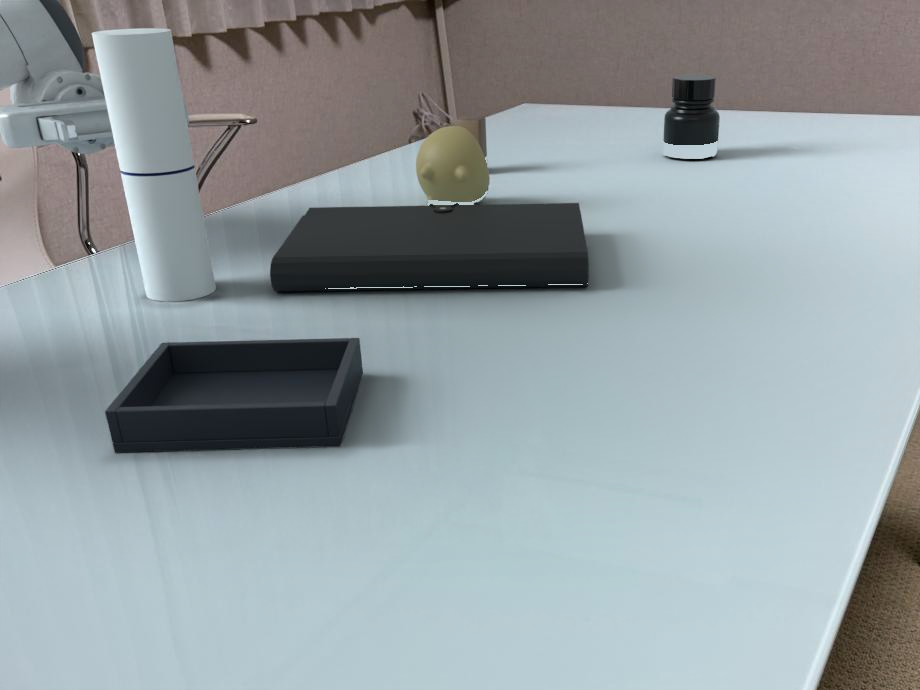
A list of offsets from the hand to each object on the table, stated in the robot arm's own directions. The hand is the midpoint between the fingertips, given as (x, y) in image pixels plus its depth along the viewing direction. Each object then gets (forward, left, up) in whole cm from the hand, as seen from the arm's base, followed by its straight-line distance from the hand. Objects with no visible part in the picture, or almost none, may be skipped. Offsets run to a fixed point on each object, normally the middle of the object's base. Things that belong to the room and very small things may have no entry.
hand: (115, 126), depth 112 cm
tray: (+21, -43, -15) cm, 50 cm away
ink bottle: (+72, +60, -15) cm, 95 cm away
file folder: (+34, -1, -15) cm, 37 cm away
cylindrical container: (+7, -10, -15) cm, 19 cm away
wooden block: (+36, +51, -15) cm, 65 cm away
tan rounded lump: (+35, +26, -15) cm, 46 cm away
